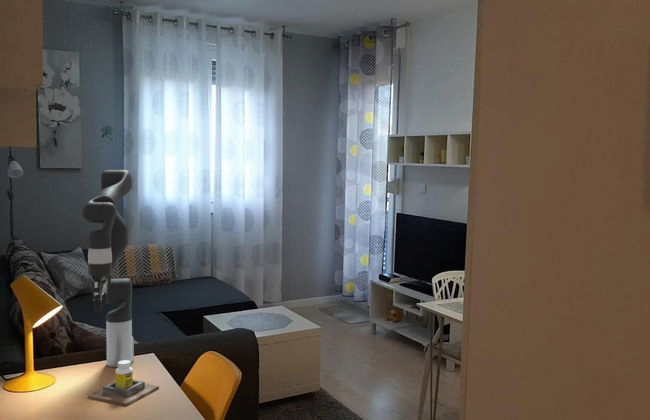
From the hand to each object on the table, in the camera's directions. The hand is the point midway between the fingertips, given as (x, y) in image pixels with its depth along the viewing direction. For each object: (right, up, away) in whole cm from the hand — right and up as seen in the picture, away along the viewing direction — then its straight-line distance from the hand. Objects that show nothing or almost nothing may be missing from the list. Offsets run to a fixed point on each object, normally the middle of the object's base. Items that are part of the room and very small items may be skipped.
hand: (100, 308), depth 188 cm
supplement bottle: (+9, -28, -2) cm, 29 cm away
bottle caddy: (+9, -28, -2) cm, 30 cm away
